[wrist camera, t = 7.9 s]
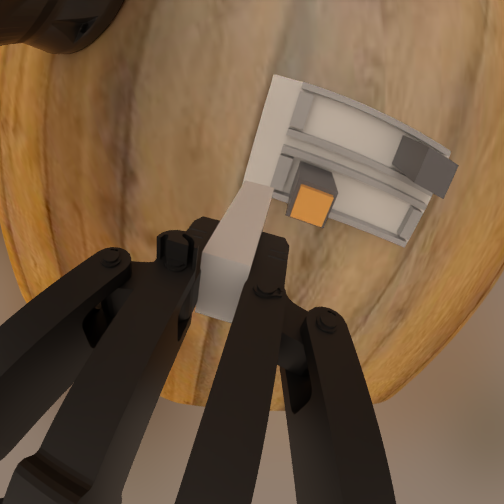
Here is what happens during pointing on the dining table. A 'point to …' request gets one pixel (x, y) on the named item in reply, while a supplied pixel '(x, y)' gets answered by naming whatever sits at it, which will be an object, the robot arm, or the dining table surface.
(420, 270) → the dining table surface
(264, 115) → the panel
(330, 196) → the handle
